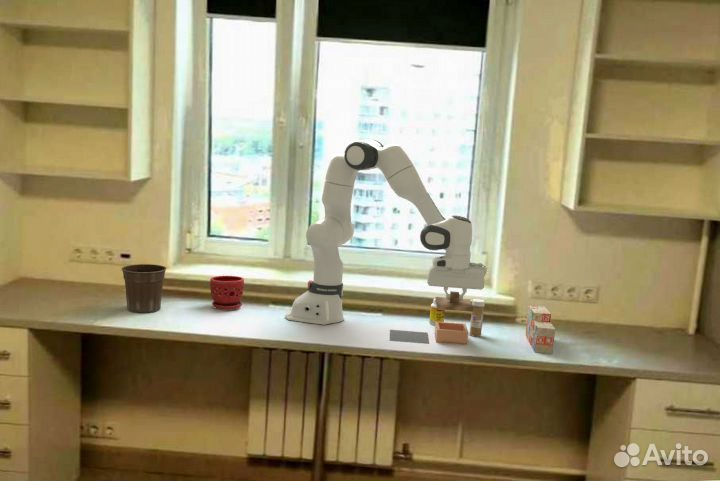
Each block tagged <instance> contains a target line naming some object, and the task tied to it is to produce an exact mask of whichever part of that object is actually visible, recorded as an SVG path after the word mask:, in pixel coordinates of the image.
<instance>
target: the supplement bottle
mask: <svg viewBox="0 0 720 481" xmlns="http://www.w3.org/2000/svg"><path fill="white" fill-rule="evenodd" d="M435 299H436V297H435V298H433V302H432V303H431V304H430V311H429V320H428V321H429V322H428V323H429V325H430V326H433V327H435V321H436V322H445V311H446V310H442V309H437V306H436V302H435Z"/></svg>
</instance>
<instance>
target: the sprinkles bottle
mask: <svg viewBox="0 0 720 481" xmlns="http://www.w3.org/2000/svg"><path fill="white" fill-rule="evenodd" d="M471 303H472V305H473V312H471V315H470V316H471V317H470V322H469V323H470V325H469V326H470V327H469V332H468V335H470V336H472V337H477V338H478V337H481V336H482V329H483V322H484V321H483V320H484V309H485V306H486V305H485V300H484V299H480V298H474V299H473V298H472V300H471Z"/></svg>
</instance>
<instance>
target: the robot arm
mask: <svg viewBox="0 0 720 481" xmlns="http://www.w3.org/2000/svg"><path fill="white" fill-rule="evenodd" d="M328 164H329V165H328V167H327V170H326V174H325V178H324V185H323V190H322V197H321V202H322V204H323V206H324V207H323V208H324V218H323V219H319V220H316V221H314V222H313V223H312V224H310V225H309V226H308V227H307V229H306V232H305V237H306V238H305V239H306V241H307V244H308V245H309V246H310V247H311V251H312V257H313V263H314V264H313V279H312V280H311V279H310V280H309V281H307V290H306V291H305V292H303V293H302V294H300V295H299V296H297V297H296V298H295V299H294V300H293V303H292V306H291V309H289V310H288V311H286V312H285V319H286V320H288V321H295V322H300V323H308V324H309V323H311V324H314V325H315V324H317V325H324V326H325V325H329V324H337V323H341V322H342V321H344V320H345V317H344V314H343V313H344V312H343V300H342V298H343V295H344V283H343V275H344V263H343V261H342V260H341V256H340V252H339V246H341V245H345V244H346V243H347V242H348V241H350V240H351V239H352V238H353V236H354V233H355V229H354V224H353V223H352V216H351V213H352V212H351V211H352V210H351V209H352V208H351V207H352V201H353V200H352V199H353V194H354V188H355V182H356V177H357V174H358V172H359V171H370V170H375V169H379V170H380V171H381V173H382V174H383V175H384V177H385V179H386V181H387V183H388V185H389V187H390V189H392V191H393V192H394V193H395V195H397V197H398V198H402V199H404V200H406V201H408V202H410V203H412V204H413V205H414V206H415V208H417V210H418V212H419V213H420V215H421V216H422V219H423V221H424V222H425V223H426V226H425V227H423V228H422V230H420V235H419V238H420V239H419V240H420V242H421V245H422V246H423V247H424V248H425V249H427V250H429V251H439V250H445V254H444V255H440V256H437V257H436V256H435V257H433V258H432V265H431V266H430V267H429V268H428V269H429V270H428V273H427V280H426V283H427V285H428V286H429V287H439V288H443V291H444V294H445V298H446V299H447V300H450V297H451V295H450V293H448V290H449V288H455V289H461V290H462V291H461V293H460V294H459V300H461V301H463V299H464V296H465V294H467V291H468V290H481V291H482V290H483V289H484V288H485V275H486V274H487V267H486V265H485V264H483V263H481V262H480V263H477V262H471V255H472V253H471V245H472V243H473V242H472V241H473V224H472V221H471V220H470V219H468V218H466V217H463V216H461V215H451V216H449V217H448V218H445V216H443V215H442V213H441V211H440V210H439V208H438V207H437V206H436V204H435V202H434V200H433V199H432V197H431V196H430V195H429V193H428V190H427V189H426V187H425V185H424V183H423V181H422V179H421V177H420V175H419V173H418V170H417V169H416V167H415V165H414V163H413V162H412V160H411V158H409V156H408V154H407V153H406V152H405V151H404V149H403V148H402V146H400V145H398V144H395V143H394V144H393V143H390V144H387V145H385V146H384V144H382V143H381V142H379V141H378V140H375V139H368V138H367V139H365V138H364V139H361V140H355V141H352V142H350V143H349V144H348V145H347V147H346V148H345V150H344V152H341V153H335V154H334V155H332V157H331V159H330V162H329V163H328Z"/></svg>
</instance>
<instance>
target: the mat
mask: <svg viewBox="0 0 720 481" xmlns="http://www.w3.org/2000/svg"><path fill="white" fill-rule="evenodd" d="M389 341H390V342H400V343H401V342H403V343H412V344H413V343H414V344H424V345H427V344H428V345H429V344H430V340H429V333H428V332H426V331H425V332H423V331H411V330H399V329H389Z"/></svg>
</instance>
